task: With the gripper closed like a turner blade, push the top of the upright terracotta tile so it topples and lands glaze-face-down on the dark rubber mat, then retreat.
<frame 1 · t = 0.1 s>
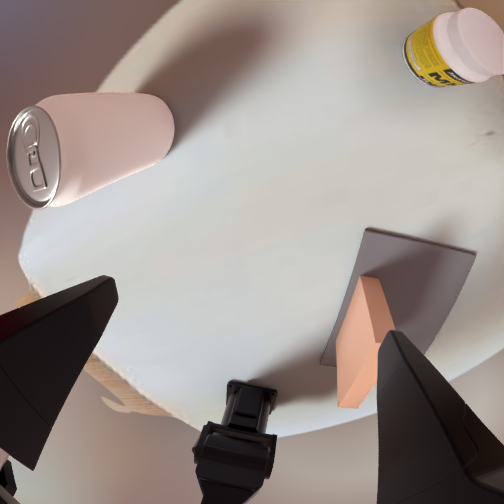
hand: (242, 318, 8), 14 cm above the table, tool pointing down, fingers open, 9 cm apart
tile: (356, 312, 24), resting on mat
mat: (396, 315, 24), on the table
supplement bottle: (427, 60, 13), on the table
can: (144, 130, 20), on the table
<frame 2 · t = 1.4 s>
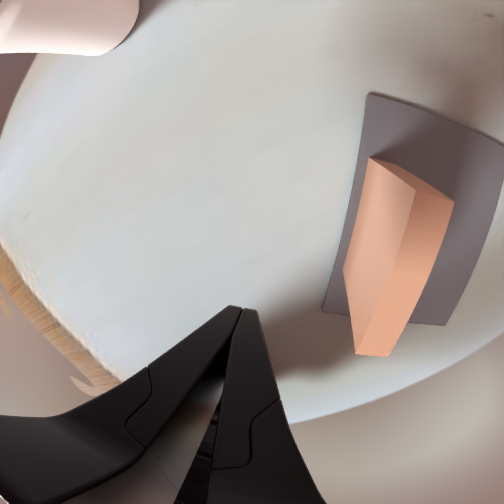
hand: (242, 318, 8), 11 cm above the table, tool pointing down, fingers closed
tile: (369, 219, 17), resting on mat
mat: (423, 229, 17), on the table
can: (110, 22, 13), on the table
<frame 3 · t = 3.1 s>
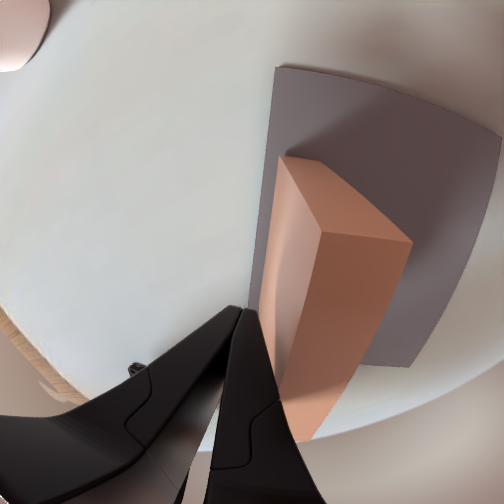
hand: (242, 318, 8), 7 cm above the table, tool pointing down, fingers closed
tile: (286, 240, 13), point 1 cm above the table, tilted 10°, touching gripper, mat
mat: (372, 251, 13), on the table
can: (30, 33, 10), on the table
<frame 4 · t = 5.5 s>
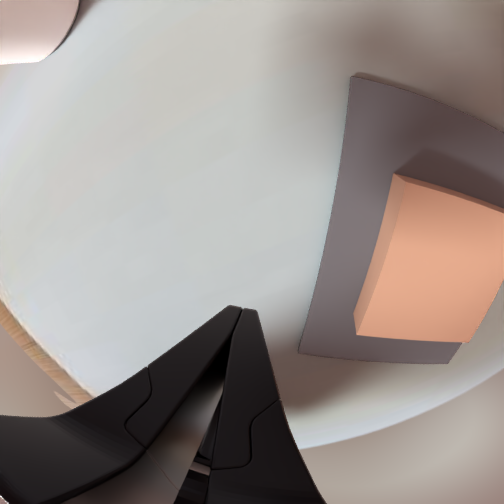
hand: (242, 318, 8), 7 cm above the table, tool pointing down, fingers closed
tile: (377, 259, 12), point 1 cm above the table, tilted 90°, touching mat
mat: (428, 257, 13), on the table
can: (53, 22, 9), on the table
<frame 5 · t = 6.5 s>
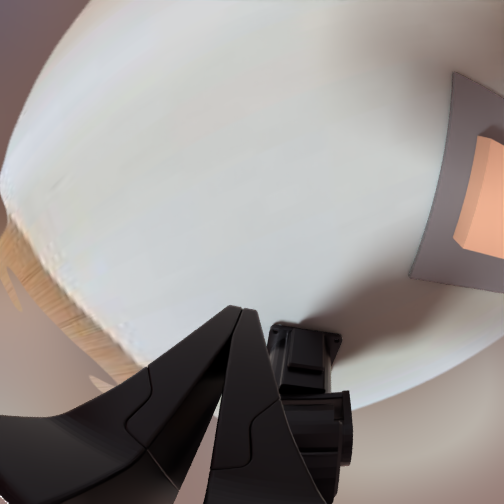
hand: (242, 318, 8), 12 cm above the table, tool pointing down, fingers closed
tile: (473, 191, 14), point 1 cm above the table, tilted 90°, touching mat
mat: (494, 197, 15), on the table
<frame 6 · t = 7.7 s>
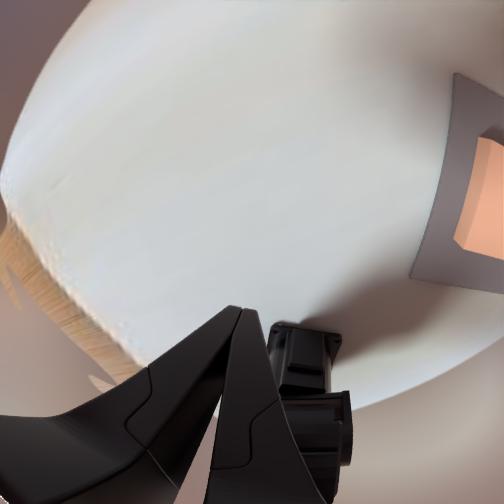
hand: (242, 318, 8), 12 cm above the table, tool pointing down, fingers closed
tile: (474, 192, 14), point 1 cm above the table, tilted 90°, touching mat
mat: (494, 198, 15), on the table
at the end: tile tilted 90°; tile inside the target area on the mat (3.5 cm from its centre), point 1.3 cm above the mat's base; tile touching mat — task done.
